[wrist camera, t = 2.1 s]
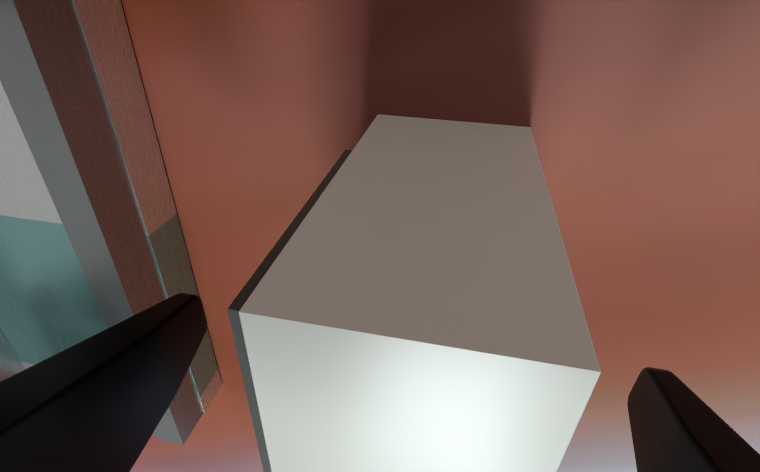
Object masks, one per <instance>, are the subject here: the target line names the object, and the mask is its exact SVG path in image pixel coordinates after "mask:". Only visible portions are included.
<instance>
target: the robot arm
mask: <svg viewBox="0 0 760 472" xmlns="http://www.w3.org/2000/svg"><path fill="white" fill-rule="evenodd" d="M206 330H207V320H206V316H205V312H204V308H203V304H202V301H201V298H200V297H199V296H198V295H195V294H189V293H178V294H176V295H174V296H172V297H170V298H168V299H166V300H164V301H162V302H160V303H158V304H156V305H154V306H151V307H149V308H147V309H145V310H143V311H141V312H139V313H137V314H135V315H133V316H131V317H129V318H127V319H125V320H123V321H121V322H119V323H117V324H115V325H113V326H111V327H109V328H107V329H105V330H103V331H101V332H99V333H97V334H95V335H93V336H91V337H89V338H87V339H85V340H83V341H81V342H79V343H77V344H75V345H73V346H71V347H69V348H67V349H65V350H63V351H61V352H59V353H57V354H55V355H53V356H51V357H49V358H47V359H45V360H43V361H41V362H39V363H37V364H35V365H33V366H31V367H29V368H27V369H25V370H23V371H21V372H19V373H17V374H15V375H13V376H11V377H9V378H7V379H5V380H3V381H1V382H0V472H130V470H131V468H132V467H133V465H134V464H135V462H136V460H137V459H138V457H139V455H140V454H141V452H142V450H143V449H144V447H145V445H146V444H147V442H148V440H149V439H150V437H151V436H152V434H153V432H154V431H155V429H156V427H157V426H158V424H159V422H160V421H161V419H162V417H163V416H164V414H165V412H166V411H167V409H168V408H169V406H170V404H171V402H172V401H173V399H174V397H175V395H176V394H177V392H178V390H179V388H180V386H181V384H182V382H183V380H184V377H185V375H186V373H187V371H188V369H189V367H190V365H191V363H192V361H193V359H194V356H195V354H196V352H197V350H198V348H199V346H200V344H201V342H202V340H203V338H204V335H205V333H206ZM628 412H629V419H630V425H631V432H632V439H633V445H634V452H635V459H636V466H637V472H760V454H759V453H758V452H756V451H755V450H754V449H753V448H752V447H751V446H750V445H749V444H748V443H747V442H746V441H745V440H744V439H743V438H742V437H740V436H739V435H738V434H737V433H736V432H735V431H734V430H733V429H732V428H731V427H730V426H729V425H728V424H727V423H726V422H724V421H723V420H722V419H721V418H720V417H719V416H718V415H717V414H716V413H715V412H714V411H713V410H712V409H711V408H710V407H708V406H707V405H706V404H705V403H704V402H703V401H702V400H701V399H700V398H699V397H698V396H697V395H696V394H695V393H694V392H692V391H691V390H690V389H689V388H688V387H687V386H686V385H685V384H684V383H683V382H682V381H681V380H680V379H679V378H677V377H676V376H675V375H674V374H673V373H672V372H670V371H668V370H663V369H657V368H650V367H647V368H644V369H643V370H642V371H641V373H640V375H639V376H638V378H637V380H636V382H635V384H634V386H633V388H632V390H631V392H630V394H629V397H628Z"/></svg>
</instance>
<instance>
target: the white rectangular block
mask: <svg viewBox="0 0 760 472" xmlns="http://www.w3.org/2000/svg"><path fill="white" fill-rule="evenodd" d="M228 313H229V318H230V322H231V327H232V331H233V336H234V340H235V345H236V349H237V354H238V358H239V362H240V367H241V371H242V376H243V380H244V385H245V389H246V394H247V398H248V403H249V407H250V412H251V416H252V421H253V425H254V429H255V434H256V438H257V443H258V447H259V452H260V456H261V461H262V465H263V470H264V472H556V471H557V469H558V467H559V465H560V462H561V460H562V458H563V456H564V453H565V451H566V449H567V447H568V445H569V442H570V440H571V438H572V436H573V433H574V431H575V429H576V427H577V424H578V422H579V420H580V418H581V416H582V413H583V411H584V409H585V407H586V404H587V402H588V400H589V398H590V395H591V393H592V391H593V389H594V386H595V384H596V382H597V380H598V378H599V375H600V373H601V371H600V367H599V364H598V360H597V357H596V353H595V350H594V346H593V343H592V339H591V336H590V332H589V329H588V325H587V322H586V318H585V315H584V312H583V308H582V305H581V301H580V298H579V294H578V291H577V287H576V284H575V280H574V277H573V273H572V270H571V266H570V263H569V259H568V256H567V253H566V249H565V246H564V242H563V239H562V235H561V232H560V228H559V225H558V221H557V218H556V214H555V211H554V207H553V204H552V200H551V197H550V193H549V190H548V187H547V183H546V180H545V176H544V173H543V169H542V166H541V162H540V159H539V155H538V152H537V148H536V145H535V141H534V138H533V134H532V131H531V127H523V126H511V125H499V124H487V123H475V122H463V121H451V120H439V119H427V118H415V117H403V116H391V115H380V114H378V115H377V116H376V118H375V119H374V121H373V122H372V123H371V125H370V126H369V128H368V129H367V130H366V132H365V133H364V135H363V136H362V138H361V139H360V140H359V142H358V143H357V145H356V146H355V147H354V149H353V150H345V151H344V153H343V154H342V156H341V157H340V158H339V160H338V161H337V162H336V164H335V165H334V166H333V168H332V169H331V170H330V172H329V173H328V174H327V176H326V177H325V178H324V180H323V181H322V182H321V184H320V185H319V186H318V188H317V189H316V191H315V192H314V193H313V195H312V196H311V197H310V199H309V200H308V201H307V203H306V204H305V205H304V207H303V208H302V209H301V211H300V212H299V213H298V215H297V216H296V217H295V219H294V220H293V221H292V223H291V224H290V226H289V227H288V228H287V230H286V231H285V232H284V234H283V235H282V236H281V238H280V239H279V240H278V242H277V243H276V244H275V246H274V247H273V248H272V250H271V251H270V252H269V254H268V255H267V256H266V258H265V259H264V261H263V262H262V263H261V265H260V266H259V267H258V269H257V270H256V271H255V273H254V274H253V275H252V277H251V278H250V279H249V281H248V282H247V283H246V285H245V286H244V287H243V289H242V290H241V291H240V293H239V294H238V296H237V297H236V298H235V300H234V301H233V302H232V304H231V305H230V306H229V308H228Z"/></svg>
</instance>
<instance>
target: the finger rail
mask: <svg viewBox="0 0 760 472" xmlns="http://www.w3.org/2000/svg"><path fill="white" fill-rule="evenodd" d="M178 293H189V294H195V295H198V291H197V288H196V284H195V280H194V276H193V273H192V269H191V265H190V261H189V257H188V254H187V250H186V246H185V242H184V239H183V235H182V231H181V227H180V224H179V220H178V216H177V212H176V209H175V205H174V201H173V197H172V193H171V190H170V186H169V182H168V178H167V175H166V171H165V167H164V163H163V160H162V156H161V152H160V148H159V145H158V141H157V137H156V133H155V129H154V126H153V122H152V118H151V114H150V111H149V107H148V103H147V99H146V96H145V92H144V88H143V84H142V81H141V77H140V73H139V69H138V65H137V62H136V58H135V54H134V50H133V47H132V43H131V39H130V35H129V32H128V28H127V24H126V20H125V17H124V13H123V9H122V5H121V1H120V0H0V382H1V381H3V380H5V379H7V378H9V377H11V376H13V375H15V374H17V373H19V372H21V371H23V370H25V369H27V368H29V367H31V366H33V365H35V364H37V363H39V362H41V361H43V360H45V359H47V358H49V357H51V356H53V355H55V354H57V353H59V352H61V351H63V350H65V349H67V348H69V347H71V346H73V345H75V344H77V343H79V342H81V341H83V340H85V339H87V338H89V337H91V336H93V335H95V334H97V333H99V332H101V331H103V330H105V329H107V328H109V327H111V326H113V325H115V324H117V323H119V322H121V321H123V320H125V319H127V318H129V317H131V316H133V315H135V314H137V313H139V312H141V311H143V310H145V309H147V308H149V307H151V306H154V305H156V304H158V303H160V302H162V301H164V300H166V299H168V298H170V297H172V296H174V295H176V294H178ZM198 296H199V295H198ZM221 386H222V382H221V378H220V374H219V370H218V367H217V363H216V359H215V355H214V352H213V348H212V344H211V340H210V337H209V333H208V329H207V330H206V333H205V335H204V338H203V340H202V342H201V344H200V346H199V348H198V350H197V352H196V354H195V356H194V359H193V361H192V363H191V365H190V367H189V369H188V371H187V373H186V375H185V377H184V380H183V382H182V384H181V386H180V388H179V390H178V392H177V394H176V395H175V397H174V399H173V401H172V402H171V404H170V406H169V408H168V409H167V411H166V412H165V414H164V416H163V417H162V419H161V421H160V422H159V424H158V426H157V427H156V429H155V431H154V434H155V437H156V439H159V440H164V441H168V442H173V443H177V444H182V445H184V443H185V441H186V440H187V438H188V437H189V435H190V433H191V432H192V430H193V429H194V427H195V425H196V424H197V422H198V421H199V419H200V417H201V416H202V414H203V413H205V411H206V410H207V408H208V406H209V405H210V403H211V402H212V400H213V398H214V397H215V395H216V394H217V392H218V390H219V389H220V387H221Z"/></svg>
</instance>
